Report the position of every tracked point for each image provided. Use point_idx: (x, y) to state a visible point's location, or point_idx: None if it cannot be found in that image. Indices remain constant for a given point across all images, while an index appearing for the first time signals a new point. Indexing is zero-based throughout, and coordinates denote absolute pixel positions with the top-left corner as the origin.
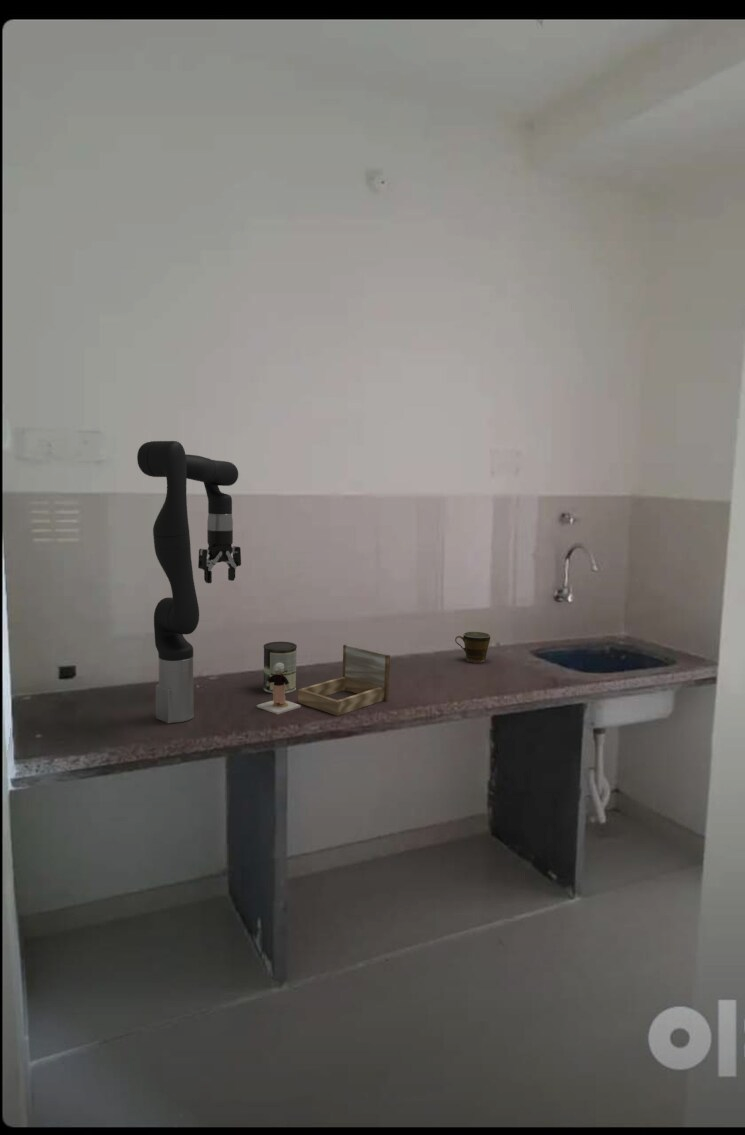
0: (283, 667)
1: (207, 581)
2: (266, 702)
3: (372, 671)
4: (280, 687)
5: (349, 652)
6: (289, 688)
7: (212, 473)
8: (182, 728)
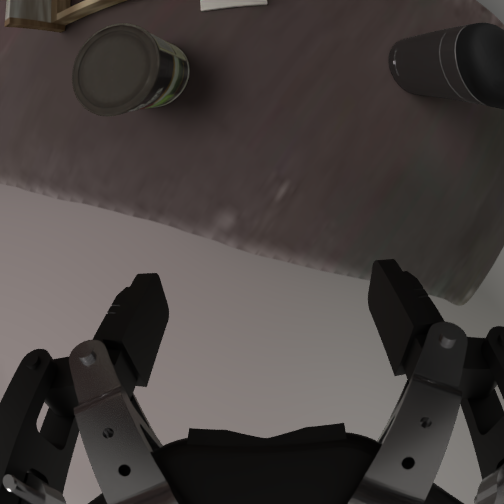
0: None
1: (407, 273)
2: (241, 4)
3: None
4: None
5: (18, 8)
6: None
7: None
8: (430, 23)
